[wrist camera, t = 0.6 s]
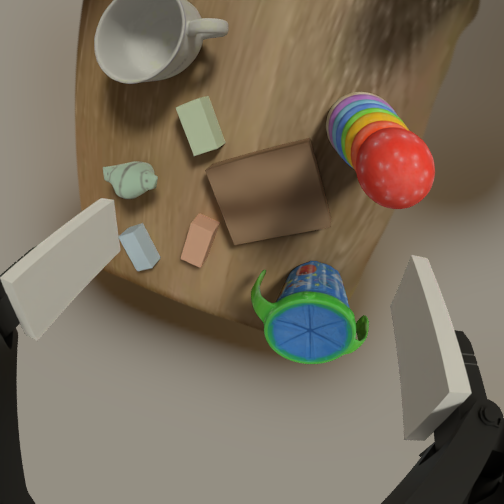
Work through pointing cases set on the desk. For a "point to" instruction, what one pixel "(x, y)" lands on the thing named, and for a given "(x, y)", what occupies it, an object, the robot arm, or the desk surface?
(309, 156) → the plinth
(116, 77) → the teacup
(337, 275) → the snack cup
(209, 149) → the brick sage
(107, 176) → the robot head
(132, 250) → the brick blue
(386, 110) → the stacking toy
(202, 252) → the brick terracotta
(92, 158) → the desk surface
